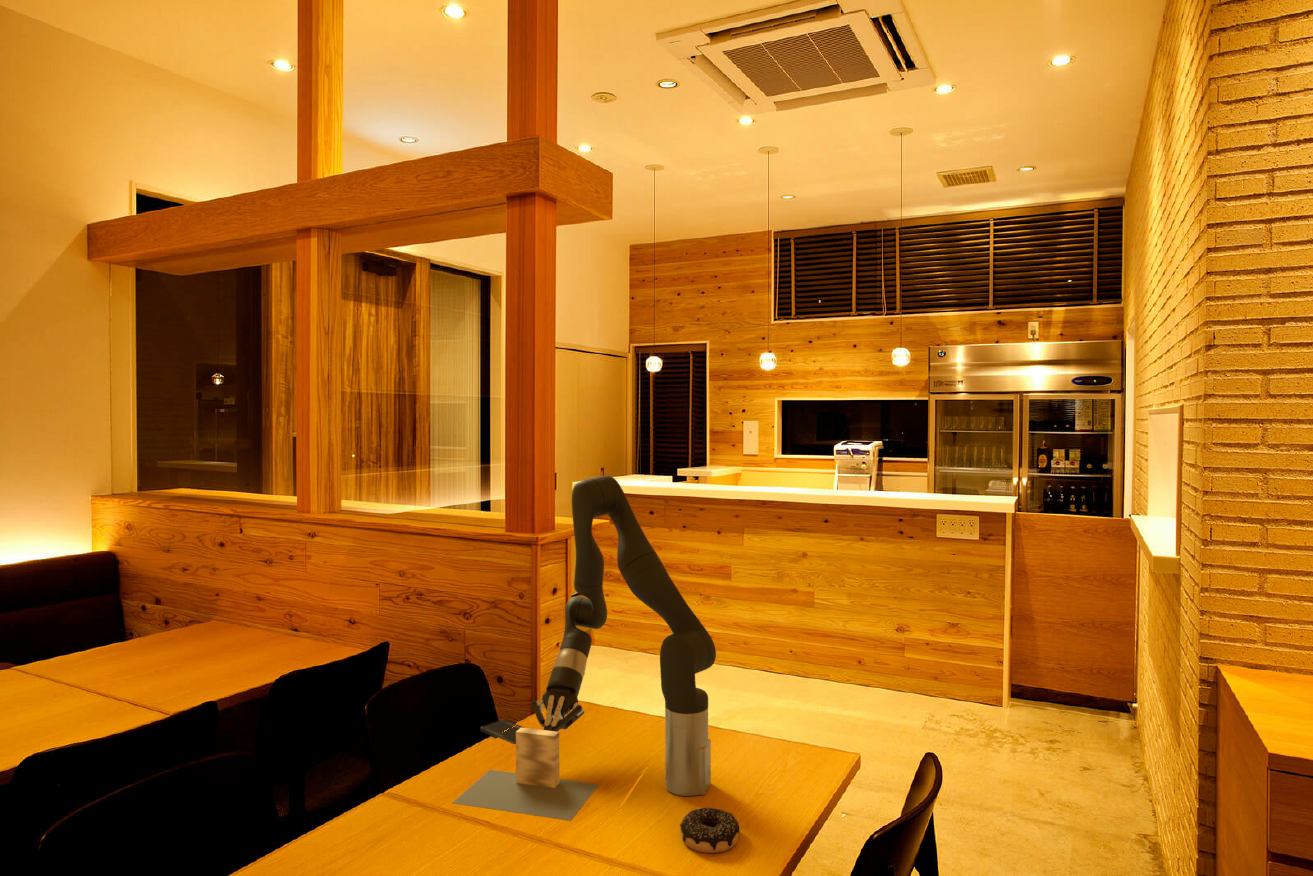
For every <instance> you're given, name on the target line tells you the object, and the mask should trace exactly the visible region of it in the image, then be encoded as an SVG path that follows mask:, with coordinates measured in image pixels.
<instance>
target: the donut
mask: <svg viewBox="0 0 1313 876" xmlns="http://www.w3.org/2000/svg"><path fill="white" fill-rule="evenodd" d="M679 827H680V836H681V840H682V841H683V843H685V845H686V846H687V847H688V848H690V849H692V850H695V851H697V852H701V853H704V854H705V853H706V854H719V853H722V852H723V853H724V852H726V851H728V850H731V849H732V848H733V847H734V846H735V845H736V844H737V841H738V840H739V836H740V835H739V833H740V824H739V822H738V820H737V818H736V817H735V816H734V815H733V813H732V812H728V811H726V810H723V809H718V808H713V807H701V808H696V809H693V810H691V811H689V812H688V813H687V814H685V816H684V817H683V818H682V821H681V822H680V824H679ZM718 852H719V853H718Z"/></svg>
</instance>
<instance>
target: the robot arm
mask: <svg viewBox="0 0 1313 876" xmlns="http://www.w3.org/2000/svg"><path fill="white" fill-rule="evenodd" d="M571 511H572V512H571V513H572V515H571V516H572V523H573V524H572V525H573V527H572V528H573V534H574V544H575V566H574V567H575V568H574V569H575V570H574V577H573V578H574V580H573V588H574V591H575V592H576V593H577V594H579V595H581V596H582V597H581V596H577V595H576V596H573V597H570V598H569V599H568V600H567V602H566V603H565V608H564V632H563V638H562V641H561V645H560V648H559V651H558V653H557V655H556V658H555V661H554V663H553V667H552V669H551V673H550V676H549V679H548V683H547V686H546V690H545V692H544V693H543V694H542V696H541V698H539V699H538V700H534V699H533V700H532V701H531V702H530V704H531V706H532V709H533V712H534V715H535V716H536V718H537V719H536V720H537V721H538V723H539V724H540V726H541V727H542V728H543V730H547V731H556V732H560V730H564V731H565V730H567V729H568V728H569V727H571V726H572V725H573V724H574V723H575V722H576V721H578V720H579V719H580V718H581V716H583V715H584V714H585V710H584V708H583V707H582V705H581V704H578V703H579V700H578V696H579V695H580V690H581V687H582V683H583V679H584V676H585V674H586V670H587V669H586V668H587V662H588V658H589V654H590V652H591V651H590V650H591V648H592V644H593V639H592V636H591V635H590V634H589V633H588V632H587V631H584V630H583V629H580V628H578V627H582V628H587V629H593V630H598V629H601V628H602V627H603V626H604V625H605V624H606V622H607V618H608V608H607V603H606V599H605V594H604V589H603V587H604V585H603V582H604V573H605V572H604V571H605V560H604V556H603V554H602V551H601V549H600V547H599V546H598V543H597V542H596V540H595V537H594V536H593V528H592V527H593V521H594V518H598V517H602V516H606V515H607V516H608V517H609V518H610V520H611V522H612V523H613V525H614V527H615V530H616V532H617V552H616V554H617V555H616V558H617V559H616V560H617V561H616V562H617V568H618V570H619V573H620V574H621V576H622V577H623V579H624V581H625V583H626V585H627V586H628V588H629V590H630V591H631V592H632V594H633V595H634V596H635V598H638V600H639V601H641V603H643V604H644V605H645V606H647V607H649V608H650V609H651V610H652V611H654V612H655V613H656V614H657V615H659V616H660V617H661V619H662V620H663V621H664V622H665V623H666V624H667V626H668V627H669V629H670V630H671V632H672V634H669V635H668V636H667V635H666V637H665V638H664V639H663V641H662V643H661V646H660V650H659V667H660V668H659V669H660V670H659V671H660V689H661V693H662V695H663V698H664V701H665V702H664V707H665V708H664V719H665V720H664V721H665V722H664V732H665V733H664V734H665V735H664V736H665V737H664V739H665V741H664V742H665V743H664V744H665V745H664V746H665V747H664V750H665V751H664V752H665V753H664V754H665V755H664V758H665V759H664V760H665V761H664V763H665V764H664V767H665V768H664V769H665V771H664V772H665V775H664V780H665V781H664V782H665V783H664V784H665V789H666V791H668V792H670V793H672V794H674V795H676V796H682V797H693V796H698V795H700V796H701V795H702V796H705V795H706V793H707V791H708V789H709V788H710V785H711V783H712V777H711V775H712V767H711V766H712V764H711V763H712V762H711V761H712V757H711V756H712V755H711V754H712V753H711V751H712V747H711V745H712V744H711V743H712V741H711V738H709V695H708V693H707V692H706V691H705V689H702V688H699V687H697V684H696V674H699V673H700V672H703V671H704V672H705V671H706V670H708V669H710V668H711V667H713V665H714V664H715V661H716V658H717V657H716V656H717V650H716V649H717V648H716V646H715V642H714V640H713V639H712V636H711V635H710V633H709V632H708V630H707V629H706V628H705V626H704V624H702V622H701V621H700V619H699V618H698V617H697V615H696V614H695V613H694V611H693V610H692V608H691V607H690V606H689V604H688V603H687V602H686V600H685V599H684V597H683V595H682V594H681V592H680V591H679V588H678V587H677V586H676V585H675V582H674V581H673V580H672V577H671V576H670V574H669V573H668V571H667V570H666V566H664V563H663V561H662V560H661V558H660V556H659V555H658V554H657V552H656V550H655V549H654V548H653V546H652V545H651V543H650V541H649V539H648V538H647V536H646V534H645V533H644V530H643V529H642V527H641V525H640V523H639V521H638V520H637V518H636V516H635V514H634V511H633V509H632V507H631V505H630V502H629V501H628V499H627V496H626V495H625V492H624V490H623V488H622V486H621V485H620V484H619V482H618V480H617V479H616V478H615V477H613V476H611V475H601V476H595V477H591V478H586V479H582V480H579V481H577V482H576V483H574V485H573V487H572V492H571ZM577 626H578V627H577ZM544 708H545V716H544V714H543V712H542V711H543V709H544Z"/></svg>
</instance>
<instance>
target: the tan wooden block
mask: <svg viewBox="0 0 1313 876" xmlns="http://www.w3.org/2000/svg"><path fill="white" fill-rule="evenodd" d="M515 773H516V783H521V784H529V785H536V786H543V787H551V788H555V787H556V786H557V785H558V784H559V779H560V731H558V732H556V731H547V730H544V729H538V728H528V727H524V728H520V729H519V730H517V731H516V744H515Z"/></svg>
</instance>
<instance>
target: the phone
mask: <svg viewBox="0 0 1313 876" xmlns="http://www.w3.org/2000/svg"><path fill="white" fill-rule="evenodd" d="M515 725H516V723H514V722H512V721H510V720H509V719H500V720H497V721H493V722H491V723H488V724H485V725H482V726H480V732H482V733H484V734H486V735H488V736H491V737H492V738H495V739H498V738H499V739H501V740H504V741H506V742H508V743H511V744H513V745H516V731H517V730H519V729H520V728H525V727H524V726H521V725H519V724H517V725H516V726H515ZM513 726H515V727H513ZM512 727H513V728H512ZM508 728H509V729H508ZM507 729H508V730H507ZM504 730H507V731H505V732H504ZM502 732H503V733H502Z"/></svg>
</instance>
